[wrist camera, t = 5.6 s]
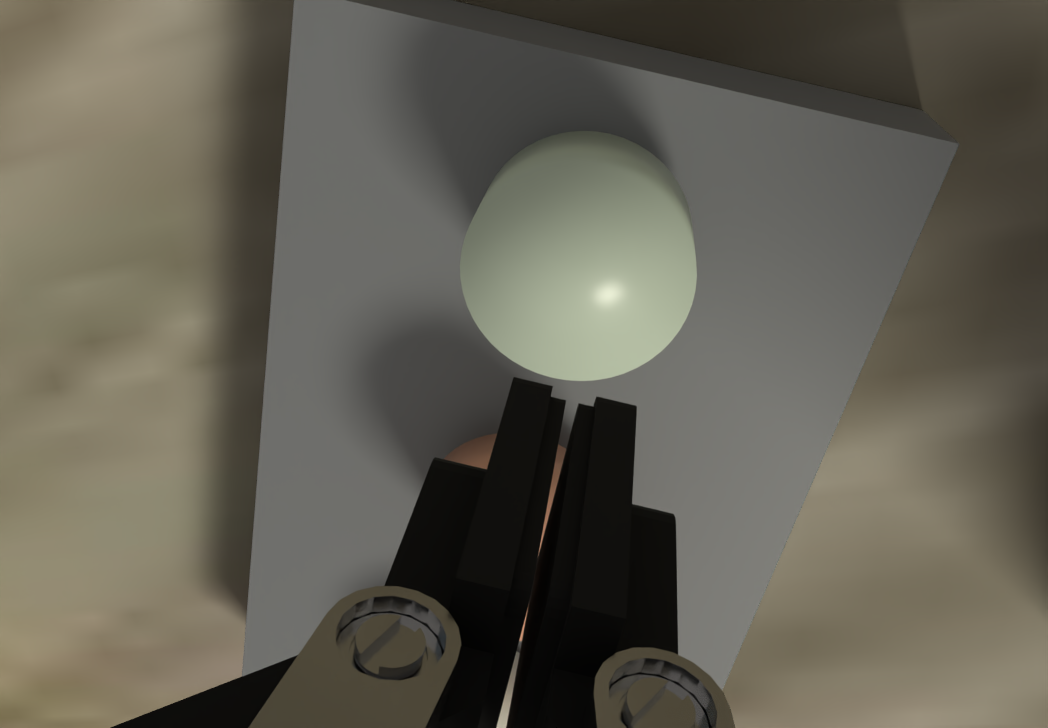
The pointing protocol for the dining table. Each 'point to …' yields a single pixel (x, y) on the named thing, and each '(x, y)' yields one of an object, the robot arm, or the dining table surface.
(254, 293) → the dining table surface
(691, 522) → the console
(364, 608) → the robot arm
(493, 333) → the sage button
